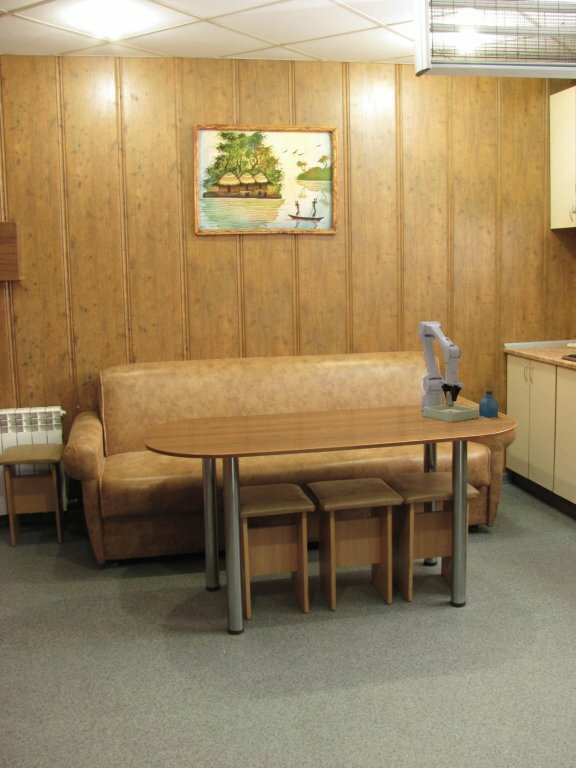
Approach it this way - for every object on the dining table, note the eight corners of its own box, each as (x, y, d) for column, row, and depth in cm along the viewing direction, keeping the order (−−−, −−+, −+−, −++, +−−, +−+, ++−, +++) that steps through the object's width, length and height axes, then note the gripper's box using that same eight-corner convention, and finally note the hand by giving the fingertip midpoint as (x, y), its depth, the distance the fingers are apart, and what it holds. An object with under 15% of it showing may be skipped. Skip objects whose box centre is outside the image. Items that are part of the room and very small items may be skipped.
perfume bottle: (478, 415, 382) (479, 390, 381) (489, 414, 385) (490, 389, 383) (487, 417, 377) (488, 392, 375) (497, 416, 379) (498, 391, 378)
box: (423, 416, 381) (423, 407, 381) (449, 412, 392) (450, 403, 391) (451, 422, 367) (451, 413, 366) (478, 417, 377) (478, 409, 376)
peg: (444, 405, 379) (444, 391, 378) (451, 404, 380) (451, 390, 379) (449, 406, 376) (449, 392, 375) (455, 406, 377) (455, 391, 376)
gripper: (434, 371, 380) (433, 399, 382) (457, 374, 368) (456, 403, 370) (445, 369, 384) (444, 398, 386) (467, 373, 372) (467, 402, 374)
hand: (450, 400), depth 378 cm, fingers closed on peg, 4 cm apart
